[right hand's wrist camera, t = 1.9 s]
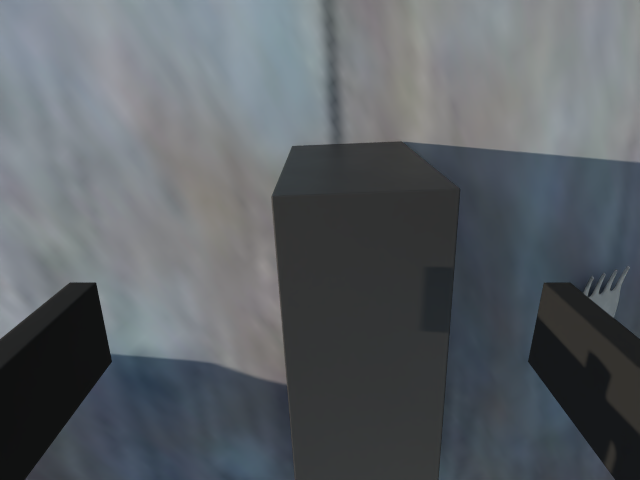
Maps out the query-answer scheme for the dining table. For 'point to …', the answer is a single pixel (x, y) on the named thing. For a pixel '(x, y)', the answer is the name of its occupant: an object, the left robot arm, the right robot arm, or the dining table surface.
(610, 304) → the fork
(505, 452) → the dining table surface
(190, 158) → the dining table surface
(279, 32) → the dining table surface
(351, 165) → the box
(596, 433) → the right robot arm
